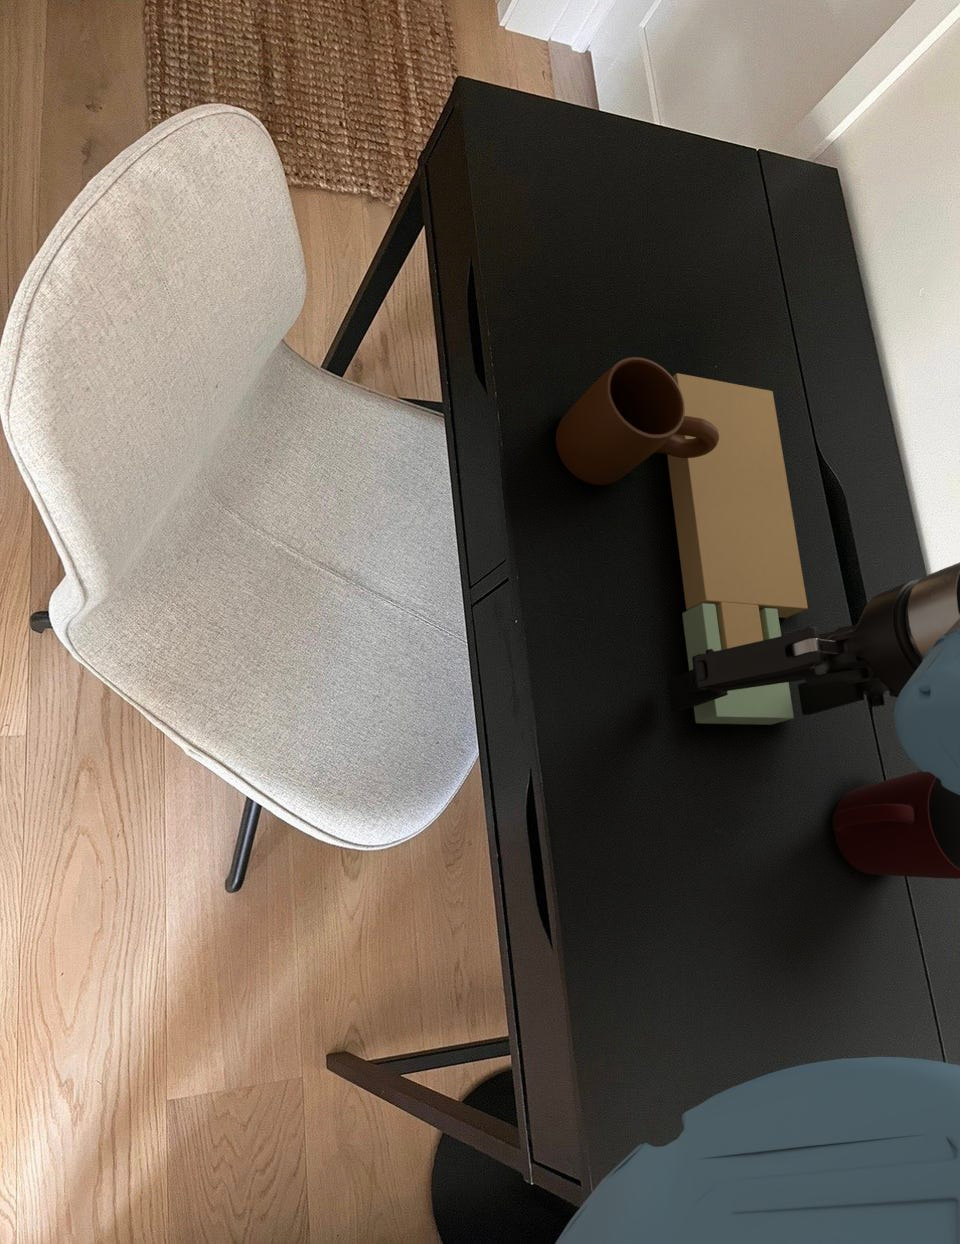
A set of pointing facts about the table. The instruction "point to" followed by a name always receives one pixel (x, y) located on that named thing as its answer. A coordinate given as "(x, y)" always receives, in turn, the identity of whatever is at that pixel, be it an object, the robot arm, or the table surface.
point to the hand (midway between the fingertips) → (740, 697)
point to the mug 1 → (629, 423)
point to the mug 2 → (901, 828)
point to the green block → (741, 703)
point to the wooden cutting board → (736, 512)
